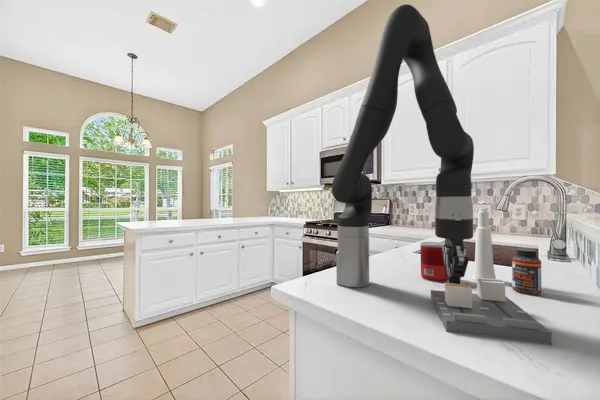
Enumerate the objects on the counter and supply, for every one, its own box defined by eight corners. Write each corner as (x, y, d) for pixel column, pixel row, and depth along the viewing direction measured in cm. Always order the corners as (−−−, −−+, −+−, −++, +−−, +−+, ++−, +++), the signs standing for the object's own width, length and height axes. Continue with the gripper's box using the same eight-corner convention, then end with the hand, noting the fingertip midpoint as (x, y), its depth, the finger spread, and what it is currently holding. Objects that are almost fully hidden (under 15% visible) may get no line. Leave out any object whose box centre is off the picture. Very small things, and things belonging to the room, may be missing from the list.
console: (446, 331, 50) (446, 314, 50) (430, 297, 67) (430, 285, 67) (552, 344, 45) (552, 325, 45) (506, 304, 62) (506, 291, 62)
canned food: (453, 282, 80) (452, 245, 80) (424, 281, 81) (423, 245, 81) (444, 275, 87) (444, 241, 87) (418, 274, 89) (418, 241, 89)
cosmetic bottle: (467, 277, 84) (466, 208, 85) (485, 276, 85) (484, 208, 85) (482, 283, 78) (481, 208, 79) (501, 282, 79) (500, 208, 79)
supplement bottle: (511, 292, 71) (510, 249, 71) (513, 286, 75) (512, 246, 75) (541, 297, 67) (540, 252, 67) (541, 291, 71) (541, 249, 71)
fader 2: (481, 299, 60) (481, 280, 60) (476, 294, 63) (476, 277, 63) (505, 301, 59) (505, 282, 59) (499, 296, 61) (499, 278, 61)
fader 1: (447, 305, 56) (447, 286, 56) (444, 300, 59) (444, 281, 59) (472, 308, 55) (472, 288, 55) (468, 303, 58) (468, 283, 58)
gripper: (430, 215, 68) (431, 282, 68) (441, 218, 55) (442, 301, 55) (463, 215, 66) (464, 285, 66) (483, 218, 53) (484, 305, 53)
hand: (454, 292), depth 61 cm, fingers closed
